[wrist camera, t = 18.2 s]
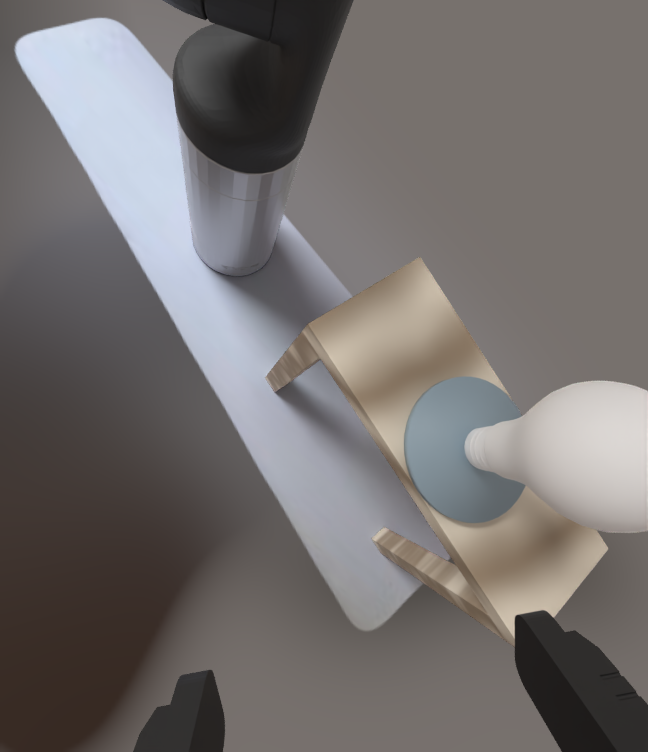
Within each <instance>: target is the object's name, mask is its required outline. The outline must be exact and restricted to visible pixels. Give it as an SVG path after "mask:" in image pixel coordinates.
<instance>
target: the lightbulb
mask: <svg viewBox="0 0 648 752" xmlns="http://www.w3.org/2000/svg"><path fill="white" fill-rule="evenodd" d="M464 449H465V454H466V457H467V459H468V461H469V462H470V463H471V464H472V465H473V466H474V467H476V468H478V469H481V470H485V471H490V472H495V473H496V474H498V475H499V476H501V477H503V478H506V479H510V480H515V481H517V482H520V483H522V484H524V485H526V486H527V487H529V488H530V489H531V490H532V491H533V492H534V493H535V494H536V495H537V496H538V497H539V498H540V499H541V500H543V501H544V502H545V503H546V504H547V505H549V506H550V507H551V508H552V509H553V510H555V511H556V512H557V513H559V514H560V515H562V516H564V517H566V518H567V519H570V520H572V521H574V522H576V523H578V524H580V525H582V526H585V527H589V528H592V529H596V530H600V531H604V532H614V533H615V532H616V533H635V532H643V531H648V391H646V390H643V389H641V388H639V387H636V386H634V385H628V384H624V383H618V382H612V381H587V382H581V383H574V384H571V385H569V386H566V387H564V388H561V389H559V390H556V391H554V392H551V393H550V394H549V395H547V396H546V397H545V398H543V399H542V400H541V401H539V402H538V403H537V404H536V405H534V406H533V407H532V408H531V409H530V410H529V411H528V412H527V413H526V414H525V415H523V416H521V417H520V418H517V419H514V420H509V421H502V422H499V423H497V424H495V425H494V426H487V427H482V428H476V429H474V430H472V431H471V432H470V433H469V434H468V436H467V438H466V440H465V445H464Z"/></svg>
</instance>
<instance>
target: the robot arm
mask: <svg viewBox="0 0 648 752" xmlns="http://www.w3.org/2000/svg"><path fill="white" fill-rule="evenodd" d="M163 1H165V2H166V3H168V4H170V5H172V6H173V7H175V8H177V9H179V10H181V11H183V12H185V13H188V14H190V15H193V16H195V17H198V18H201V19H204V20H206V19H207V18H208V20H209V21H210V22H212V23H215V24H213V25H210V26H207V27H205V28H202V29H200V30H198V31H197V32H195V33H194V34H193V35H191V36H190V37H189V38H188V39H187V40H186V41H185V42H184V44H183V45H182V47H181V48H180V50H179V52H178V54H177V57H176V60H175V64H174V70H173V92H174V99H175V107H176V115H177V123H178V131H179V138H180V146H181V153H182V161H183V168H184V176H185V184H186V192H187V200H188V208H189V217H190V225H191V233H192V240H193V245H194V247H195V250H196V252H197V254H198V255H199V257H200V258H201V260H203V261H204V262H205V263H206V264H207V265H208V266H209V267H211V268H212V269H214V270H215V271H217V272H220V273H222V274H226V275H230V276H244V275H249V274H252V273H254V272H256V271H258V270H259V269H261V268H262V267H263V266H264V265H265V264H266V263H267V262H268V260H269V258H270V256H271V253H272V250H273V247H274V243H275V240H276V237H277V234H278V231H279V227H280V224H281V220H282V217H283V214H284V210H285V207H286V203H287V200H288V197H289V193H290V190H291V187H292V183H293V179H294V176H295V173H296V169H297V165H298V162H299V159H300V156H301V152H302V149H303V145H304V141H305V138H306V135H307V131H308V128H309V125H310V123H311V120H312V117H313V113H314V110H315V106H316V104H317V100H318V97H319V94H320V91H321V88H322V85H323V82H324V79H325V76H326V73H327V71H328V68H329V65H330V62H331V59H332V57H333V53H334V51H335V49H336V46H337V43H338V41H339V38H340V35H341V32H342V30H343V27H344V24H345V22H346V19H347V16H348V14H349V11H350V8H351V6H352V3H353V0H163ZM515 662H516V667H517V670H518V673H519V676H520V678H521V681H522V683H523V685H524V687H525V689H526V690H527V693H528V694H529V696H530V698H531V699H532V701H533V703H534V705H535V706H536V708H537V710H538V711H539V713H540V715H541V716H542V718H543V720H544V722H545V723H546V725H547V727H548V728H549V730H550V732H551V734H552V735H553V737H554V739H555V741H556V742H557V744H558V746H559V747H560V749H561V751H562V752H648V705H647V703H646V702H645V701H644V700H643V699H642V698H641V697H639V696H638V695H637V693H636V691H635V690H634V688H633V687H632V686H631V685H630V684H629V682H627V680H626V679H625V678H624V677H623V676H621V675H620V673H619V671H618V670H617V668H616V667H615V666H614V665H613V664H612V663H611V662H610V660H609V659H608V658H607V657H606V656H605V654H604V653H603V652H602V651H601V650H600V649H599V648H598V647H597V646H595V645H594V644H593V643H591V642H590V641H589V640H587V639H586V638H584V637H583V636H582V635H580V634H579V633H578V632H576V631H570V632H564V631H563V629H562V628H561V627H560V626H559V624H558V623H557V622H556V621H555V619H554V618H553V617H552V616H551V615H550V614H549V613H548V612H547V611H545V610H540V611H535V612H530V613H524V614H519V615H516V616H515ZM224 737H225V720H224V712H223V708H222V704H221V700H220V696H219V693H218V689H217V685H216V682H215V677H214V674H213V671H212V670H207V671H201V672H196V673H190V674H185V675H181V676H180V678H179V679H178V682H177V684H176V688H175V691H174V694H173V697H172V701H171V704H170V705H166V706H161V707H157V708H156V710H155V711H154V713H153V714H152V716H151V717H150V719H149V721H148V722H147V723H146V725H145V727H144V728H143V730H142V731H141V733H140V735H139V737H138V740H137V743H136V746H135V748H134V751H133V752H223V747H224Z"/></svg>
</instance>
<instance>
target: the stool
mask: <svg viewBox="0 0 648 752" xmlns="http://www.w3.org/2000/svg"><path fill="white" fill-rule="evenodd" d="M320 359H321V360H322V362H323V363H324V365H325V366H326V368H327V369H328V371H329V372H330V374H331V376H332V377H333V379H334V380H335V382H336V383H337V385H338V386H339V388H340V389H341V391H342V392H343V394H344V395H345V397H346V398H347V400H348V401H349V403H350V404H351V406H352V408H353V409H354V411H355V412H356V414H357V415H358V417H359V418H360V420H361V421H362V423H363V424H364V426H365V427H366V429H367V430H368V432H369V433H370V435H371V436H372V438H373V439H374V441H375V443H376V444H377V446H378V447H379V449H380V450H381V452H382V453H383V455H384V456H385V458H386V459H387V461H388V462H389V464H390V465H391V467H392V468H393V470H394V471H395V473H396V474H397V476H398V478H399V479H400V481H401V482H402V484H403V485H404V487H405V488H406V490H407V491H408V493H409V494H410V496H411V497H412V499H413V500H414V502H415V503H416V505H417V506H418V508H419V510H420V511H421V513H422V514H423V516H424V517H425V519H426V520H427V522H428V523H429V525H430V526H431V528H432V529H433V531H434V532H435V534H436V535H437V537H438V538H439V540H440V541H441V543H442V545H443V546H444V548H445V549H446V551H447V552H448V554H449V555H450V557H451V558H452V560H453V561H454V563H455V564H456V565H454V564H452V563H450V562H449V561H447V560H445V559H443V558H441V557H439V556H437V555H435V554H434V553H432V552H430V551H428V550H426V549H424V548H422V547H421V546H419V545H417V544H415V543H413V542H411V541H409V540H408V539H406V538H404V537H402V536H400V535H398V534H396V533H394V532H393V531H391V530H389V529H387V528H385V527H384V528H383V529H381V530H380V531H379V532H378V533H377V534H376V535H375V536H374V537H372V538H371V539H372V540H373V542H374V543H375V545H376V546H377V548H378V549H379V551H380V552H381V553H382V554H383V555H384V556H386V557H387V558H389V559H390V560H392V561H393V562H394V563H396V564H397V565H399V566H400V567H401V568H403V569H404V570H406V571H407V572H409V573H410V574H411V575H413V576H414V577H416V578H417V579H418V580H420V581H421V582H423V583H424V584H426V585H427V586H428V587H430V588H431V589H433V590H434V591H435V592H437V593H438V594H440V595H441V596H443V597H444V598H445V599H447V600H448V601H450V602H451V603H452V604H454V605H455V606H457V607H458V608H460V609H461V610H462V611H464V612H465V613H467V614H468V615H470V616H471V617H472V618H474V619H475V620H477V621H478V622H479V623H481V624H482V625H484V626H485V627H486V628H488V629H490V630H491V631H492V632H494V633H495V634H497V635H498V636H499V637H501V638H502V639H503V640H505V641H506V642H508V643H509V644H511V645H512V646H513V647H515V616H516V615H519V614H524V613H530V612H535V611H540V610H545V611H547V612H548V613H549V614H550V615H551V616H552V617H553V618H554V617H555V615H556V614H557V613H558V612H559V611H560V609H561V608H562V607H563V606H564V604H565V603H566V602H567V601H568V599H569V598H570V597H571V595H572V594H573V593H574V591H575V590H576V589H577V588H578V587H579V585H580V584H581V582H582V581H583V580H584V579H585V578H586V576H587V575H588V574H589V573H590V571H591V570H592V569H593V568H594V566H595V565H596V564H597V562H598V561H599V560H600V559H601V558H602V556H603V555H604V554H605V552H606V551H607V550H608V547H607V546H606V544H605V543H604V541H603V540H602V538H601V536H600V535H599V533H598V532H597V530H596V529H592V528H589V527H585V526H582V525H580V524H578V523H576V522H574V521H572V520H570V519H567V518H566V517H564V516H562V515H560V514H559V513H557V512H556V511H555V510H553V509H552V508H551V507H550V506H549V505H547V504H546V503H545V502H544V501H543V500H541V499H540V498H539V497H538V496H537V495H536V494H535V493H534V492H533V491H532V490H531V489H530V488H529V487H527V486H526V485H524V484H522V483H520V482H517V481H515V480H510V479H506V478H503V477H501V476H499V475H498V474H496V473H495V472H490V471H485V470H481V469H478V468H476V467H474V466H473V465H472V464H471V463H470V462H469V461H468V459H467V457H466V454H465V449H464V445H465V440H466V438H467V436H468V434H469V433H470V432H471V431H472V430H474V429H476V428H482V427H487V426H494V425H495V424H497V423H499V422H502V421H509V420H514V419H517V418H520V417H521V416H522V414H521V412H520V411H519V409H518V408H517V406H516V405H515V403H514V402H513V400H512V399H511V397H510V395H509V394H508V392H507V391H506V389H505V388H504V386H503V385H502V383H501V382H500V380H499V379H498V377H497V375H496V374H495V372H494V371H493V369H492V368H491V366H490V364H489V363H488V361H487V360H486V358H485V357H484V355H483V354H482V352H481V351H480V349H479V348H478V346H477V344H476V343H475V341H474V340H473V338H472V337H471V335H470V333H469V332H468V331H467V329H466V327H465V326H464V324H463V323H462V321H461V320H460V318H459V316H458V315H457V313H456V312H455V310H454V309H453V307H452V306H451V304H450V303H449V301H448V299H447V298H446V296H445V295H444V293H443V292H442V290H441V289H440V287H439V285H438V284H437V283H436V281H435V279H434V278H433V276H432V275H431V273H430V272H429V270H428V268H427V267H426V265H425V264H424V262H423V261H422V259H421V258H420V257H419V258H417V259H416V260H414V261H412V262H411V263H409V264H407V265H406V266H404V267H402V268H401V269H399V270H397V271H396V272H394V273H392V274H391V275H389V276H387V277H386V278H384V279H382V280H381V281H379V282H377V283H375V284H374V285H372V286H371V287H369V288H367V289H366V290H364V291H362V292H360V293H359V294H357V295H356V296H354V297H352V298H350V299H349V300H347V301H345V302H344V303H342V304H340V305H339V306H337V307H335V308H334V309H332V310H330V311H329V312H327V313H325V314H324V315H322V316H320V317H319V318H317V319H315V320H314V321H312V322H310V323H309V324H307V326H306V327H305V328H304V329H303V331H302V332H301V333H300V334H299V336H298V337H297V338H296V339H295V341H294V342H293V343H292V344H291V346H290V347H289V348H288V349H287V351H286V352H285V353H284V354H283V356H282V357H281V358H280V359H279V361H278V362H277V363H276V364H275V366H274V367H273V368H272V369H271V371H270V372H269V373H268V374H267V376H266V377H265V378H266V380H267V381H268V383H269V385H270V386H271V388H272V389H273V391H274V392H276V391H278V390H279V389H281V388H282V387H284V386H285V385H287V384H288V383H290V382H291V381H293V380H294V379H295V378H297V377H298V376H299V375H300V374H302V373H303V372H304V371H306V370H307V369H308V368H310V367H311V366H312V365H314V364H315V363H316V362H318V361H319V360H320Z"/></svg>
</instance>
